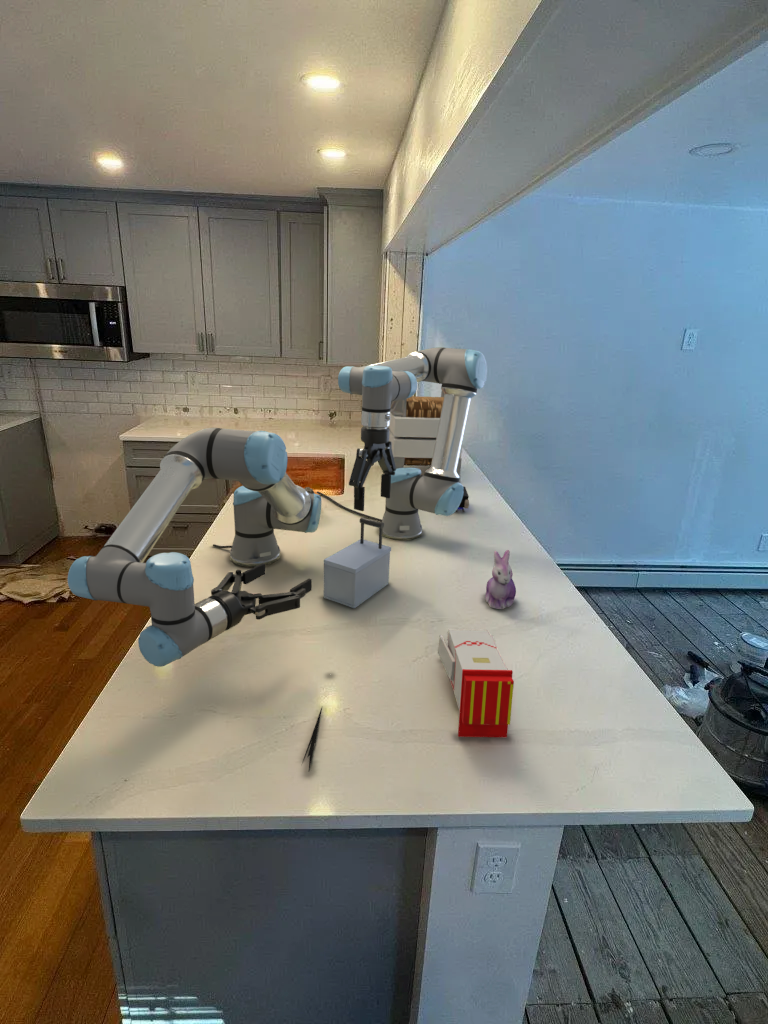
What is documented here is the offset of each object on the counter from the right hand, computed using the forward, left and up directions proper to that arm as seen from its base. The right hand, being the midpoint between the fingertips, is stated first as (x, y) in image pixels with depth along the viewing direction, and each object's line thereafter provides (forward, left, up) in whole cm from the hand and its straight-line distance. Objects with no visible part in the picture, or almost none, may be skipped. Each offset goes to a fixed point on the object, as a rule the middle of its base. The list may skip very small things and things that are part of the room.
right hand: (372, 503), depth 156 cm
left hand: (+11, -34, -8) cm, 37 cm away
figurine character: (-30, +70, -24) cm, 80 cm away
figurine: (+30, +21, -24) cm, 44 cm away
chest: (+2, -6, -24) cm, 25 cm away
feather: (+39, -44, -24) cm, 64 cm away
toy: (+51, -15, -24) cm, 59 cm away
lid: (+2, -6, -14) cm, 15 cm away
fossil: (-60, +13, -24) cm, 66 cm away
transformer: (-75, +93, -24) cm, 122 cm away
